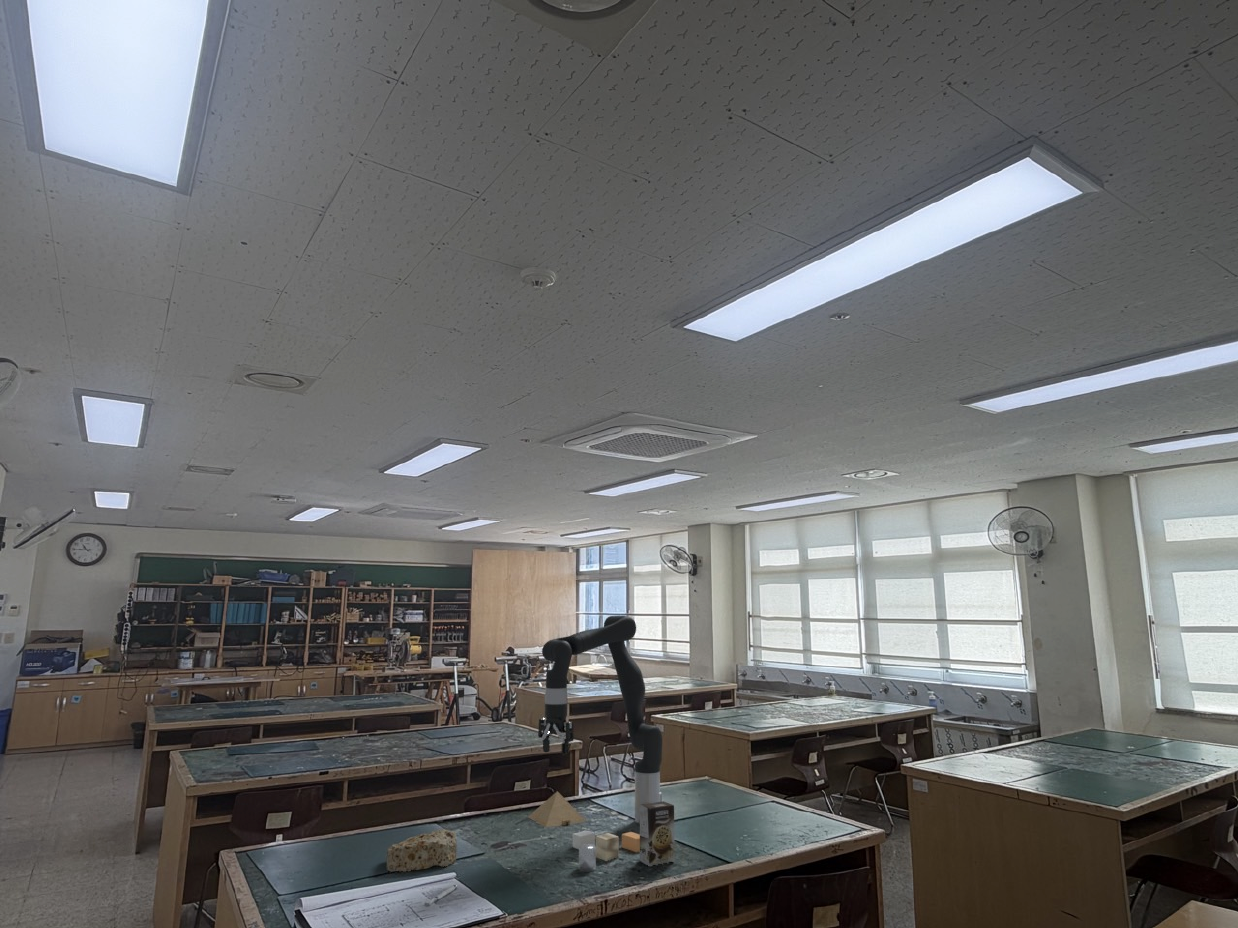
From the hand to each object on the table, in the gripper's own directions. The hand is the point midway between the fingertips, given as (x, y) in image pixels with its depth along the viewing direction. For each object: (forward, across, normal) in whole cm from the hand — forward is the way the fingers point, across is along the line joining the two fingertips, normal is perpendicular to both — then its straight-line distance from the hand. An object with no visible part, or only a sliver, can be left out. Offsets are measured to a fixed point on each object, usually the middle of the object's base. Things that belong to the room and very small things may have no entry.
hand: (555, 753), depth 230 cm
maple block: (+29, -18, -5) cm, 34 cm away
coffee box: (+29, -33, -12) cm, 45 cm away
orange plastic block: (+29, -19, -17) cm, 39 cm away
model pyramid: (+29, +23, -24) cm, 45 cm away
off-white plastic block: (+29, -6, -8) cm, 30 cm away
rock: (+29, +20, +36) cm, 50 cm away
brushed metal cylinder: (+29, -21, +7) cm, 36 cm away
